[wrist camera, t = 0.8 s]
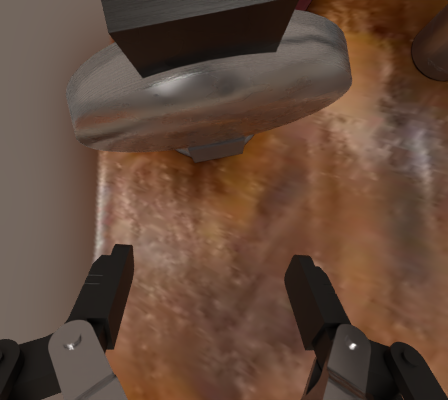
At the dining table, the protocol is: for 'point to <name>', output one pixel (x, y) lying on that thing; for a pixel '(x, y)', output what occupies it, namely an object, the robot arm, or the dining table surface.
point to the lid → (204, 73)
